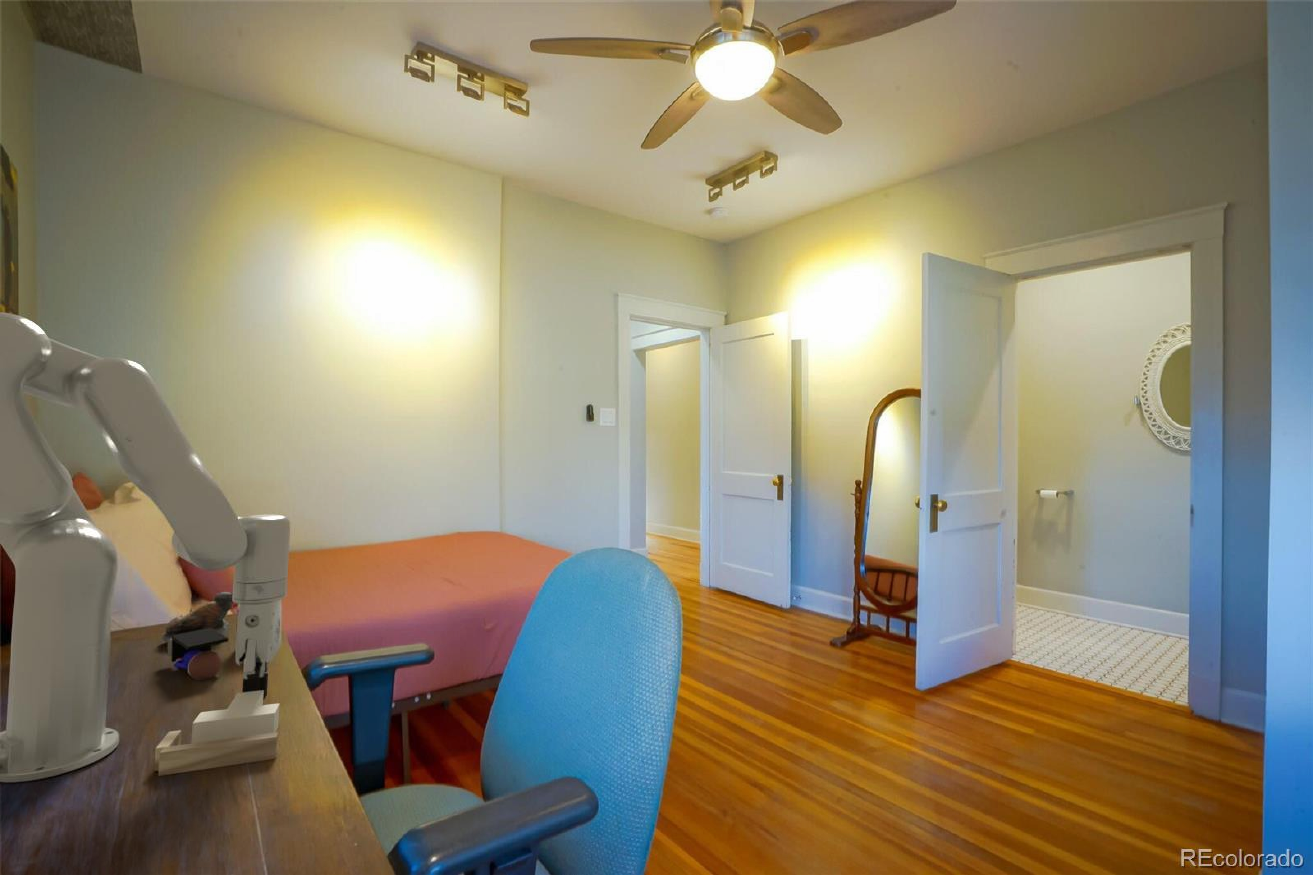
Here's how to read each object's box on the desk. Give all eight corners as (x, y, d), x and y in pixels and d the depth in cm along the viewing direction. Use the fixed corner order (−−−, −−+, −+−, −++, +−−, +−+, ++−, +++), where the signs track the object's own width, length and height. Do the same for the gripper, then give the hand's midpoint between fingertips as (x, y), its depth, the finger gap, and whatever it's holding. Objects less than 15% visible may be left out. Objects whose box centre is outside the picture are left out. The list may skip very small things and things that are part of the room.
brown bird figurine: (158, 649, 120) (160, 600, 121) (166, 638, 127) (169, 592, 127) (229, 641, 126) (231, 595, 126) (234, 632, 132) (236, 587, 133)
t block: (273, 736, 87) (274, 713, 87) (191, 747, 83) (192, 723, 83) (285, 709, 96) (286, 687, 96) (212, 717, 92) (213, 695, 92)
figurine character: (162, 673, 112) (185, 686, 103) (163, 632, 112) (186, 642, 103) (205, 664, 117) (231, 675, 108) (206, 625, 118) (232, 633, 109)
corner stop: (275, 758, 81) (276, 736, 81) (149, 777, 76) (150, 753, 76) (284, 737, 87) (285, 717, 87) (167, 753, 81) (169, 731, 82)
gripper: (277, 599, 92) (271, 716, 92) (294, 578, 106) (288, 680, 105) (220, 602, 89) (213, 723, 89) (244, 580, 103) (239, 685, 102)
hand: (254, 699), depth 97 cm, fingers closed
